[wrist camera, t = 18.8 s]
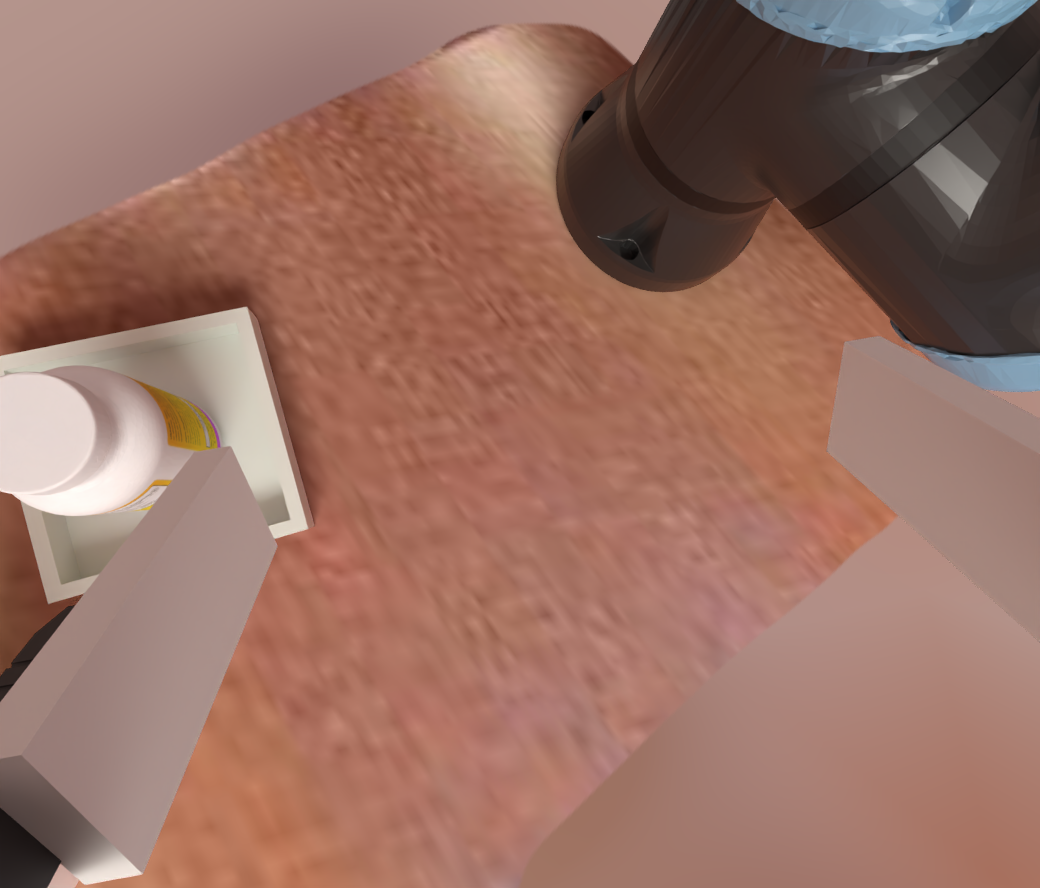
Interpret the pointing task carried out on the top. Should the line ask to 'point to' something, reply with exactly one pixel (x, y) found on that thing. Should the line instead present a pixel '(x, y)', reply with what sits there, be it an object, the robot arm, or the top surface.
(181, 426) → the supplement bottle
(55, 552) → the tray
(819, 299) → the top surface
